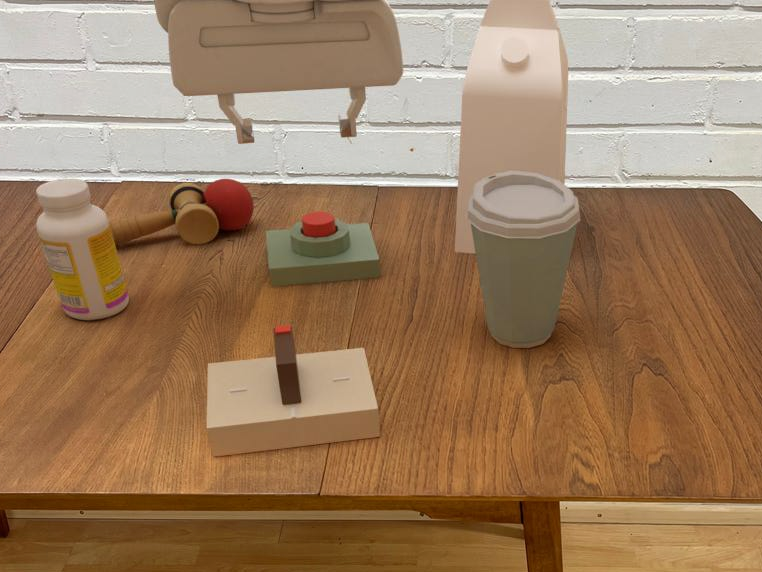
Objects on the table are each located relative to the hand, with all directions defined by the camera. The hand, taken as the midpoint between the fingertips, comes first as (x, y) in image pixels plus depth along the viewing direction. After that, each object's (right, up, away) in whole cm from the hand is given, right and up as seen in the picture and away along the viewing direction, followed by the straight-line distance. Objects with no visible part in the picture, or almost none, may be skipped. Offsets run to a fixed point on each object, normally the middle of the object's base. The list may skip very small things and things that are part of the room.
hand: (297, 138), depth 83 cm
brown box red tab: (+1, -24, -6) cm, 25 cm away
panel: (+1, -26, -4) cm, 26 cm away
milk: (+21, -2, +25) cm, 33 cm away
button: (-1, -4, +17) cm, 17 cm away
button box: (-1, -7, +19) cm, 20 cm away
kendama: (-19, -3, +24) cm, 30 cm away
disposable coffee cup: (+21, -17, +7) cm, 28 cm away
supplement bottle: (-23, -14, +10) cm, 29 cm away
